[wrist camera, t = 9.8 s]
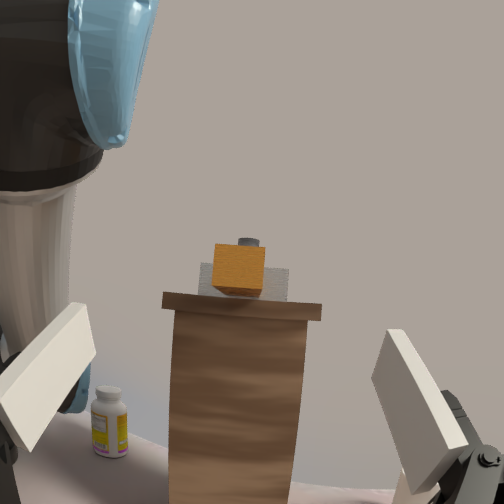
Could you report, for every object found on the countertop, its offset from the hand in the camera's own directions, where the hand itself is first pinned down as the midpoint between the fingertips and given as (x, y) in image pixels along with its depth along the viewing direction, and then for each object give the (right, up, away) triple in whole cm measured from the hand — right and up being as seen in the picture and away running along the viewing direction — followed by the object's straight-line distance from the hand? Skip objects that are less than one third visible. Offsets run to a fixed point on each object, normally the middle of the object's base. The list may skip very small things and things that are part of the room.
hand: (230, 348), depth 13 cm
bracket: (0, 0, +16) cm, 16 cm away
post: (-2, -31, +16) cm, 35 cm away
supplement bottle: (-25, -32, +32) cm, 52 cm away
